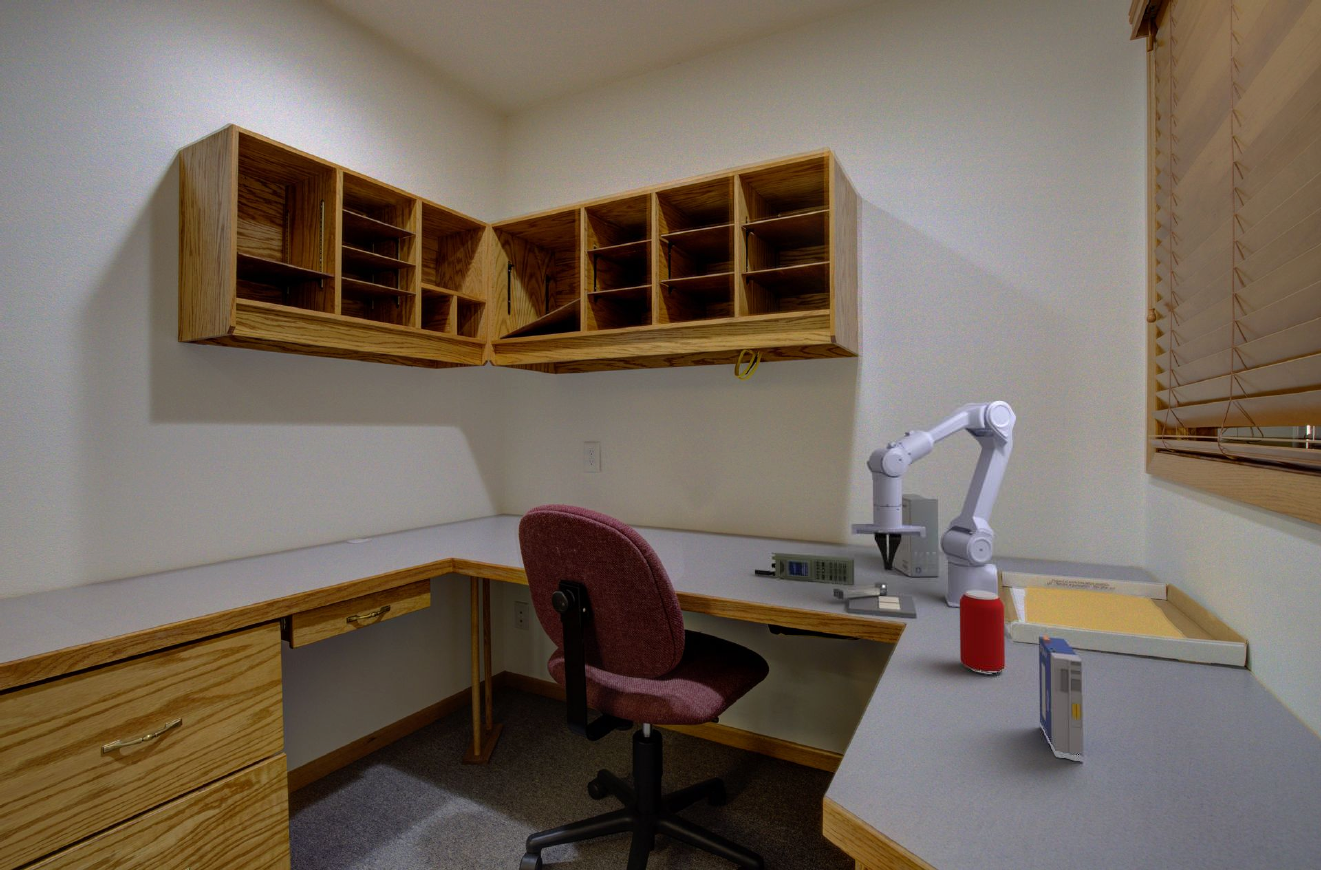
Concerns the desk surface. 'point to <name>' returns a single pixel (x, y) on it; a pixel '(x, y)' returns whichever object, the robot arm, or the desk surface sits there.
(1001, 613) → the beverage can
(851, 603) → the label board
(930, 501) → the hard drive box
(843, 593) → the bar
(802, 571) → the handheld radio
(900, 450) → the robot arm
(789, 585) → the desk surface
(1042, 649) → the walkman
